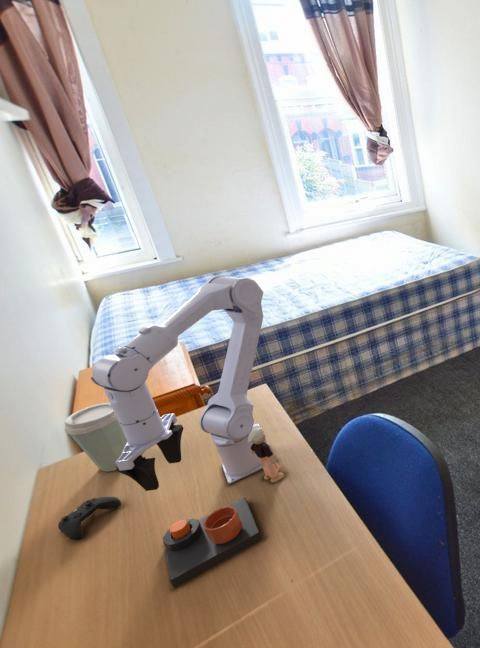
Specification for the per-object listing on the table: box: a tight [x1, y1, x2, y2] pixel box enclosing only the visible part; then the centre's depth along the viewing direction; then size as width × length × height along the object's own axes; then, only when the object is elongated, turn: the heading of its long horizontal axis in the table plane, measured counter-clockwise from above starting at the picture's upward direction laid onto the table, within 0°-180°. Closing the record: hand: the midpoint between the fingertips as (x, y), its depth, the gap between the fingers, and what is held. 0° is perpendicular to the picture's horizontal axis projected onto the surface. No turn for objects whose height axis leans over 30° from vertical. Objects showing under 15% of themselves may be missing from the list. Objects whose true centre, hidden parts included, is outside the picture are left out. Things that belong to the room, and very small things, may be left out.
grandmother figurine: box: [248, 427, 285, 483], centre depth 100 cm, size 8×4×13 cm, turn 71°
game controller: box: [57, 496, 122, 541], centre depth 95 cm, size 10×5×6 cm
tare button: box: [169, 519, 190, 539], centre depth 86 cm, size 3×3×2 cm
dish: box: [203, 505, 243, 544], centre depth 86 cm, size 5×5×4 cm
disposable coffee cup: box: [63, 401, 127, 473], centre depth 109 cm, size 11×11×15 cm
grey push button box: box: [162, 496, 263, 589], centre depth 87 cm, size 14×12×4 cm
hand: (164, 474), depth 91 cm, fingers open, 7 cm apart
